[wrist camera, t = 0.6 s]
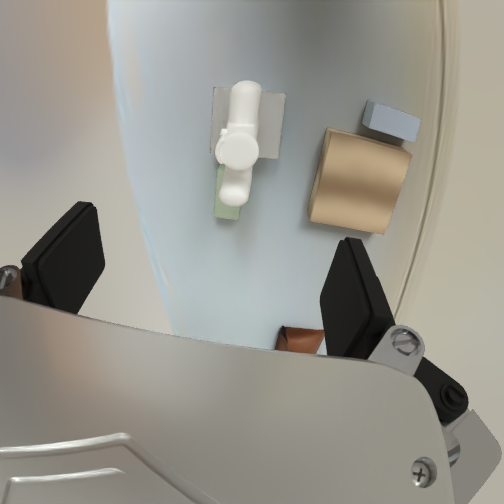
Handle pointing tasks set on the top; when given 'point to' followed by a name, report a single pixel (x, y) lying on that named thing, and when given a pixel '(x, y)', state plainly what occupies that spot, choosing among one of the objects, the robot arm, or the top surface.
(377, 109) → the brick slate
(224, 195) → the figurine
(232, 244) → the top surface
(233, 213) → the brick sage
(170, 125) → the top surface
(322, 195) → the oak pedestal
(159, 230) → the top surface
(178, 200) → the top surface
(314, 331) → the sunglasses case
